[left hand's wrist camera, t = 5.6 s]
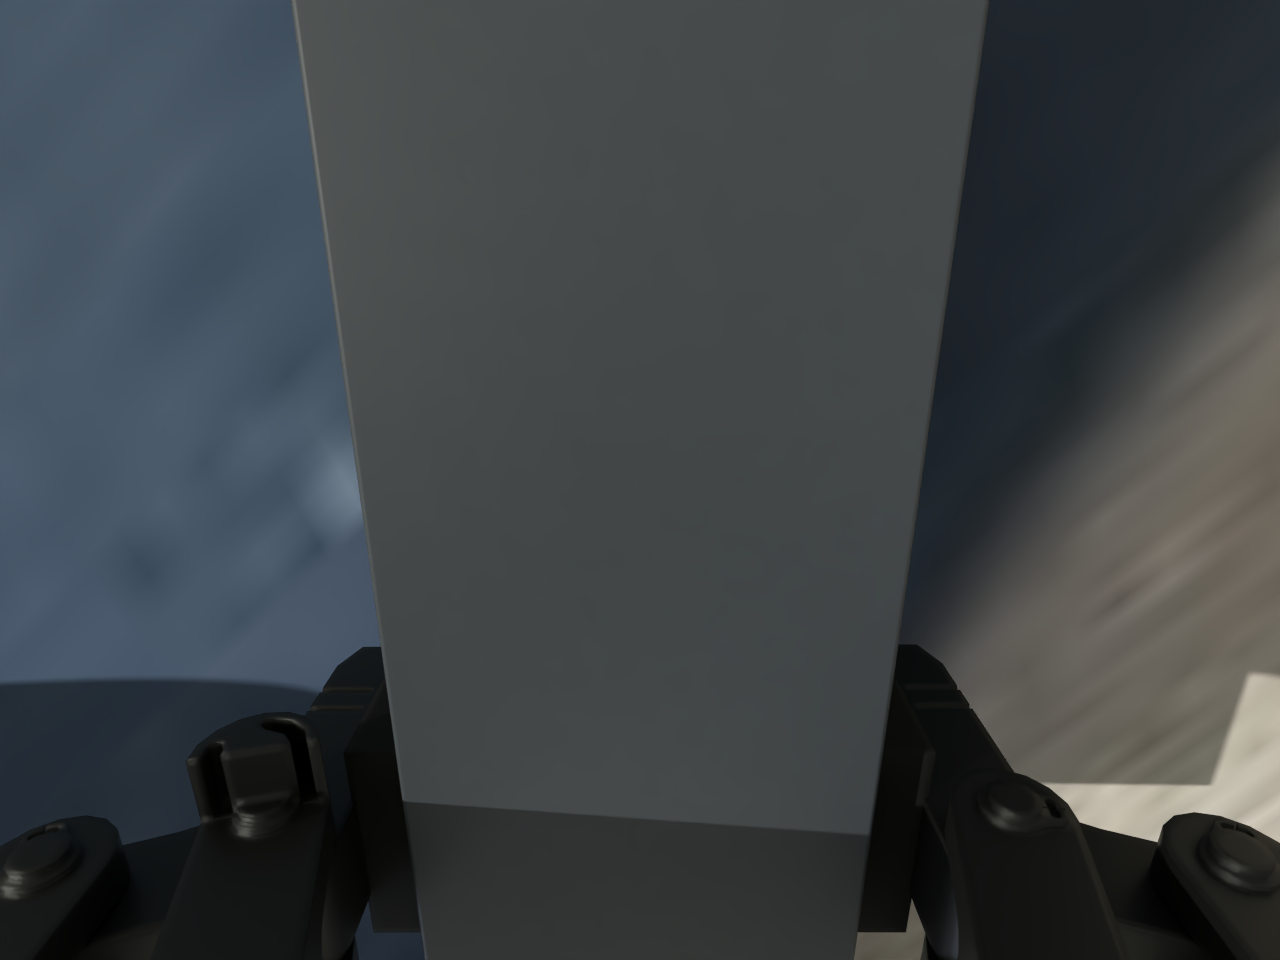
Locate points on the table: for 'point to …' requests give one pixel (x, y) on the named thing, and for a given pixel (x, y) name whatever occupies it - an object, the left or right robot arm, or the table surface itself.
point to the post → (639, 441)
